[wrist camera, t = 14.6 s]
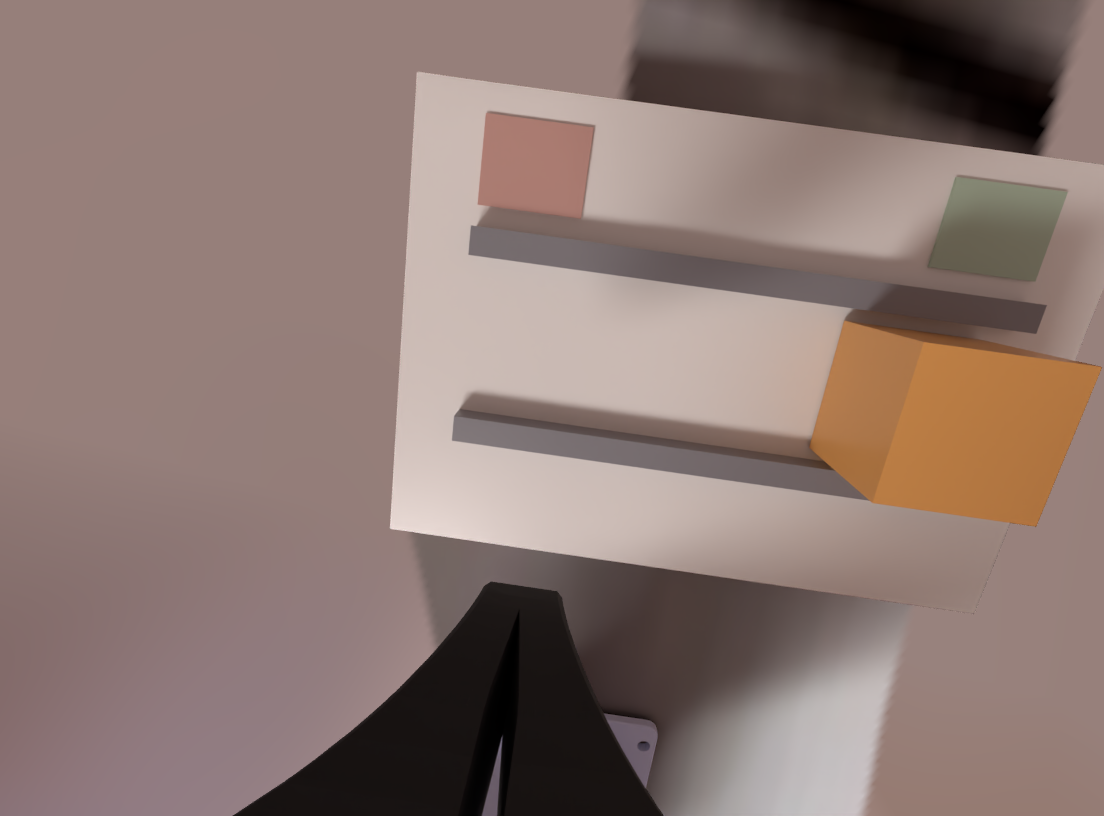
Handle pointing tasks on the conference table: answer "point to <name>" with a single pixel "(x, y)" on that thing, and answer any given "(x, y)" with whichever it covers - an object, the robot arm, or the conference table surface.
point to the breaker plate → (702, 327)
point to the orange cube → (949, 421)
